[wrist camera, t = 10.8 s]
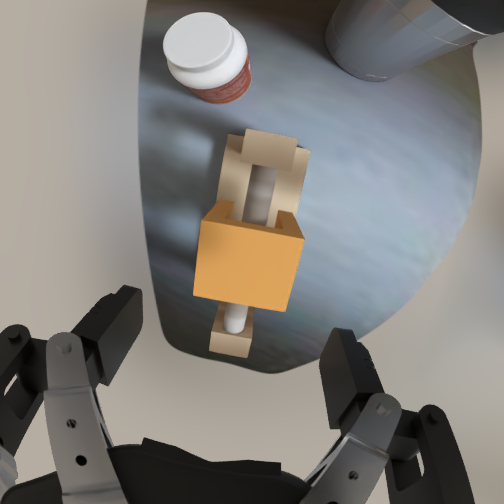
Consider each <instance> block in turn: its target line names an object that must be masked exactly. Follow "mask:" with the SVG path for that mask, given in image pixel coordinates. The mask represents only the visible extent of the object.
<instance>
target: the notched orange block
mask: <svg viewBox="0 0 504 504" xmlns="http://www.w3.org/2000/svg"><path fill="white" fill-rule="evenodd" d="M233 208H234V201H228V200H222V199H220V200H219V201H218V202H217V203H216V204H215V205H214V206H213V208H212V209H211V210H210V211H209V212H208V213H207V214H206V216H205V217H204V218H203V219H202V220H201V228H200V236H199V244H198V253H197V262H196V272H195V282H194V292H193V295H194V296H199V297H204V298H209V299H214V300H220V301H225V302H230V303H236V304H241V305H247V306H253V307H258V308H264V309H270V310H277V311H283V312H285V310H286V307H287V303H288V300H289V296H290V293H291V289H292V285H293V282H294V278H295V274H296V271H297V267H298V263H299V259H300V256H301V252H302V248H303V244H304V240H305V239H304V237H303V235H302V232H301V230H300V228H299V226H298V224H297V221H296V219H295V217H294V215H293V213H292V212H287V211H282V210H278V213H277V218H276V222H275V227H274V228H273V227H267V226H262V225H257V224H251V223H246V222H240V221H235V220H232V214H233Z"/></svg>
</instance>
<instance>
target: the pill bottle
mask: <svg viewBox="0 0 504 504" xmlns="http://www.w3.org/2000/svg"><path fill="white" fill-rule="evenodd" d="M163 50H164V54H165V56H166V57H167V64H168V68H169V70H170V72H171V74H172V75H173V77H174V78H175V79H176V80H178V81H179V82H180V83H181V84H182V85H184V86H185V87H187V88H188V89H189V90H190V91H192V92H193V93H194V94H196V95H197V96H198V97H199V98H201V99H202V100H204V101H206V102H209V103H212V104H227V103H231V102H234V101H236V100H237V99H239V98H240V97H242V96H243V95H244V94H245V93H246V91H247V90H248V88H249V86H250V84H251V80H252V70H251V65H250V60H249V56H248V51H247V46H246V42H245V40H244V38H243V36H242V35H241V33H240V32H239V31H238V30H237V29H235V28H234V27H232V26H231V25H229V23H228V22H227V21H226V20H225V19H224V18H222V17H221V16H219V15H217V14H214V13H209V12H199V13H193V14H190V15H187V16H185V17H183V18H181V19H179V20H178V21H177V22H175V23H174V24H173V25H172V26H171V27H170V29H169V30H168V31H167V33H166V35H165V37H164V41H163Z"/></svg>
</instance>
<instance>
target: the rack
mask: <svg viewBox="0 0 504 504" xmlns="http://www.w3.org/2000/svg"><path fill="white" fill-rule="evenodd" d="M297 142H298V139H296V138H291V137H287V136H282V135H278V134H273V133H268V132H263V131H257V130H252V129H246V132H245V137H244V136H239V135H232V134H228V136H227V141H226V146H225V152H224V157H223V163H222V168H221V174H220V180H219V185H218V191H217V197H216V203H217V202H218V201H219V200H220V199H222V200H228V201H234V208H233V214H232V220H235V221H240V222H246V223H251V224H257V225H262V226H267V227H273V228H274V227H275V222H276V218H277V213H278V210H282V211H287V212H292V213H293V215H294V217H296V213H297V208H298V204H299V200H300V196H301V191H302V187H303V183H304V178H305V174H306V169H307V165H308V160H309V155H310V151H311V150H307V149H303V148H299V147H296V146H297ZM253 318H254V307H253V306H247V305H241V304H236V303H230V302H225V301H220V304H219V308H218V311H217V315H216V318H215V322H214V325H213V329H212V333H211V340H210V347H209V351H213V352H218V353H223V354H228V355H234V356H239V357H245V358H247V356H248V352H249V348H250V344H251V340H252V331H253Z"/></svg>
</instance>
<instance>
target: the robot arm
mask: <svg viewBox="0 0 504 504" xmlns="http://www.w3.org/2000/svg"><path fill="white" fill-rule="evenodd" d="M502 32H504V0H341V1H340V3H339V5H338V7H337V9H336V10H335V12H334V14H333V16H332V18H331V20H330V22H329V24H328V26H327V28H326V31H325V43H326V46H327V49H328V51H329V53H330V55H331V56H332V58H333V59H334V60H335V61H336V63H337V64H338V65H339V66H340V67H342V68H343V69H344V70H345V71H347V72H348V73H350V74H351V75H353V76H355V77H357V78H360V79H362V80H366V81H372V82H380V81H386V80H388V79H391V78H393V77H395V76H397V75H399V74H401V73H403V72H405V71H407V70H409V69H412V68H414V67H416V66H418V65H420V64H422V63H424V62H427V61H429V60H431V59H433V58H436V57H438V56H440V55H442V54H445V53H447V52H450V51H452V50H454V49H457V48H459V47H462V46H465V45H467V44H469V43H472V42H475V41H477V40H480V39H483V38H486V37H489V36H492V35H495V34H498V33H502ZM142 324H143V305H142V291H141V289H138V288H135V287H131V286H127V285H123V286H122V287H121V288H120V289H119V290H118V292H117V293H116V294H112V293H110V294H109V295H106V296H104V297H102V298H101V299H100V300H99V301H98V302H97V303H96V304H95V306H94V307H92V309H91V310H90V311H89V312H88V313H87V314H86V315H85V316H84V317H83V318H82V320H81V321H80V322H79V323H78V324H77V325H76V326H75V328H74V329H73V330H72V331H71V332H70V333H69V332H61V333H57V334H55V335H53V336H52V337H51V338H50V339H49V340H41V339H35V338H31V335H30V332H29V330H28V328H27V327H25V326H23V325H19V324H16V325H11V326H9V327H7V328H5V330H3V331H2V332H1V333H0V504H365V503H366V501H367V499H368V498H369V496H370V494H371V492H372V491H373V489H374V487H375V485H376V483H377V481H378V480H379V478H380V476H381V474H382V472H383V469H384V468H385V474H386V480H387V487H388V494H389V501H390V504H475V502H474V498H473V494H472V490H471V487H470V482H469V479H468V476H467V472H466V469H465V466H464V463H463V460H462V457H461V454H460V451H459V448H458V445H457V442H456V440H455V437H454V435H453V432H452V429H451V426H450V424H449V421H448V419H447V417H446V414H445V413H444V412H443V410H442V409H440V408H439V407H437V406H435V405H430V404H429V405H425V406H424V407H423V408H422V409H421V410H420V411H419V412H413V411H409V410H404V409H402V408H401V405H400V403H399V402H398V401H397V400H396V399H395V398H394V397H393V396H391V395H389V394H386V393H385V392H384V390H383V387H382V384H381V382H380V379H379V377H378V374H377V372H376V369H374V364H373V362H372V359H371V356H370V354H369V351H368V350H367V349H366V348H365V347H364V345H362V343H361V342H357V340H356V338H355V335H354V333H353V331H352V330H350V329H342V328H334V329H333V330H332V332H331V334H330V336H329V338H328V341H327V343H326V345H325V347H324V349H323V352H322V354H321V357H320V362H319V369H320V374H321V379H322V385H323V391H324V396H325V402H326V407H327V413H328V420H329V426H330V429H340V430H341V435H340V436H339V437H338V438H337V440H336V441H335V443H334V444H333V445H332V447H331V448H330V449H329V451H328V452H327V454H326V455H325V456H324V458H323V459H322V460H321V461H320V463H319V464H318V465H317V467H316V468H315V469H314V470H313V471H312V472H311V473H310V474H309V476H307V478H306V479H305V480H304V481H303V480H302V479H300V478H299V477H296V476H294V475H292V474H290V473H287V472H284V471H281V463H279V462H265V461H254V460H240V461H223V462H211V461H207V460H204V459H202V458H200V457H198V456H195V455H193V454H191V453H189V452H187V451H184V450H182V449H180V448H178V447H176V446H172V445H168V444H165V443H161V442H158V441H154V440H151V439H148V438H143V441H142V444H141V445H139V444H126V445H119V446H114V445H113V442H112V440H111V437H110V435H109V433H108V430H107V427H106V424H105V420H104V417H103V414H102V411H101V407H100V404H99V400H98V396H97V393H96V387H97V385H98V384H99V383H101V384H104V385H106V386H109V384H110V383H111V381H112V379H113V377H114V375H115V374H116V372H117V370H118V369H119V367H120V365H121V363H122V362H123V360H124V358H125V356H126V355H127V353H128V351H129V350H130V348H131V346H132V344H133V343H134V341H135V340H136V338H137V336H138V335H139V333H140V331H141V328H142ZM15 374H16V376H17V379H16V380H15V381H14V383H13V384H12V386H11V387H10V389H9V391H8V392H7V393H6V395H5V396H4V392H5V389H6V387H7V386H8V384H9V383H10V381H11V380H12V378H13V377H14V376H15ZM43 400H44V405H45V414H46V421H47V428H48V434H49V439H50V444H51V449H52V454H53V458H54V462H55V466H56V470H57V471H55V472H52V473H50V474H47V475H44V476H42V477H39V478H36V479H33V480H30V481H27V482H24V483H20V484H17V485H16V484H15V480H16V479H17V478H18V472H17V470H16V469H17V468H16V462H15V460H14V456H15V454H16V451H17V449H18V447H19V445H20V443H21V441H22V439H23V437H24V435H25V433H26V431H27V429H28V427H29V425H30V424H31V422H32V420H33V418H34V416H35V414H36V413H37V411H38V409H39V407H40V405H41V404H42V402H43ZM419 452H420V453H421V457H422V461H423V465H424V474H423V476H421V472H420V467H419V463H418V459H417V454H418V453H419Z"/></svg>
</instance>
